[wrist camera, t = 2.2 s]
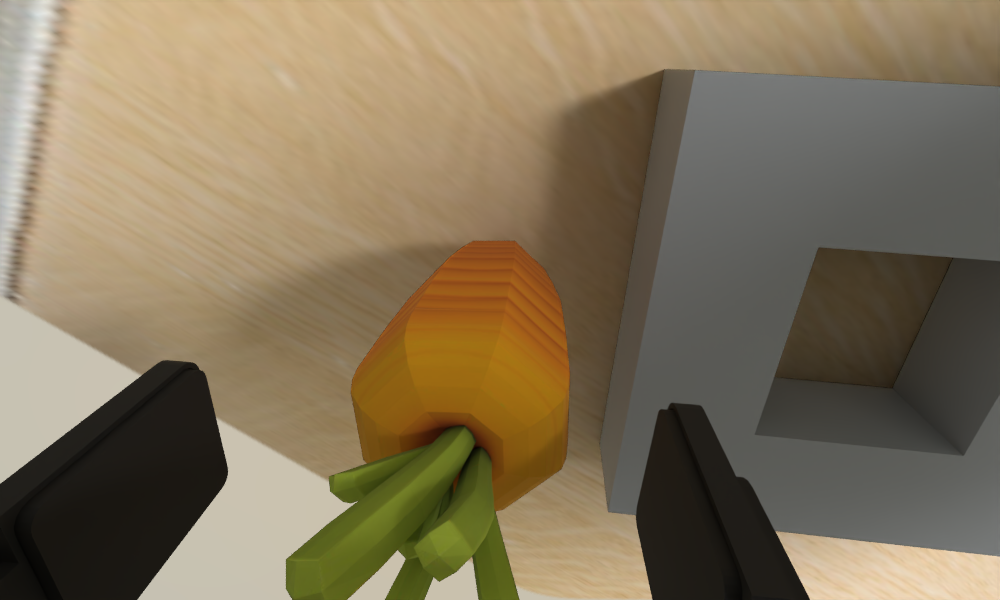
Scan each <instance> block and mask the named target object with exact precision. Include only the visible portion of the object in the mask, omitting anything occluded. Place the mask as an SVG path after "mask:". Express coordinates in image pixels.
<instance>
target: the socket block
mask: <svg viewBox="0 0 1000 600" xmlns="http://www.w3.org/2000/svg"><path fill="white" fill-rule="evenodd" d="M818 247H821V248H834V249H848V250H861V251H874V252H887V253H900V254H914V255H927V256H940V257H953V260H952V262H951V264H950V266H949V268H948V271H947V273H946V275H945V277H944V279H943V281H942V283H941V286H940V288H939V290H938V292H937V294H936V296H935V298H934V301H933V303H932V305H931V307H930V309H929V311H928V313H927V315H926V318H925V320H924V322H923V324H922V326H921V328H920V330H919V333H918V335H917V337H916V339H915V341H914V343H913V345H912V348H911V350H910V352H909V354H908V356H907V358H906V360H905V362H904V365H903V367H902V369H901V371H900V373H899V375H898V377H897V380H896V382H895V384H894V386H893V388H883V387H872V386H862V385H851V384H840V383H830V382H819V381H808V380H797V379H787V378H776V377H774V376H775V373H776V370H777V367H778V364H779V361H780V359H781V356H782V353H783V350H784V347H785V344H786V341H787V338H788V335H789V332H790V329H791V326H792V323H793V320H794V317H795V315H796V312H797V309H798V306H799V303H800V300H801V297H802V294H803V291H804V288H805V285H806V282H807V279H808V276H809V273H810V270H811V268H812V265H813V262H814V259H815V256H816V253H817V250H818ZM670 403H682V404H694V405H700V406H702V407H703V409H704V411H705V413H706V415H707V417H708V419H709V421H710V423H711V425H712V427H713V429H714V431H715V434H716V436H717V438H718V440H719V442H720V444H721V446H722V448H723V450H724V452H725V454H726V456H727V458H728V460H729V462H730V465H731V467H732V469H733V471H734V473H735V475H736V477H744V478H745V479H747V480H748V481H749V483H750V484H751V486H752V487H753V489H754V491H755V493H756V495H757V497H758V499H759V501H760V503H761V505H762V507H763V509H764V511H765V512H766V514H767V516H768V518H769V520H770V522H771V524H772V526H773V528H774V530H775V531H780V532H789V533H798V534H806V535H815V536H824V537H833V538H842V539H851V540H859V541H868V542H877V543H886V544H895V545H904V546H912V547H921V548H930V549H939V550H948V551H956V552H965V553H974V554H983V555H992V556H1000V86H982V85H963V84H945V83H926V82H907V81H889V80H870V79H851V78H833V77H814V76H796V75H777V74H758V73H740V72H721V71H703V70H671V69H664V75H663V80H662V86H661V92H660V98H659V103H658V109H657V115H656V121H655V127H654V132H653V138H652V144H651V150H650V155H649V161H648V167H647V173H646V179H645V184H644V190H643V196H642V202H641V207H640V213H639V219H638V225H637V231H636V236H635V242H634V248H633V254H632V260H631V265H630V271H629V277H628V283H627V288H626V294H625V300H624V306H623V312H622V317H621V323H620V329H619V335H618V340H617V346H616V352H615V358H614V364H613V369H612V375H611V381H610V387H609V392H608V398H607V404H606V410H605V416H604V421H603V427H602V433H601V439H600V450H601V458H602V467H603V475H604V483H605V491H606V499H607V508H608V512H612V513H621V514H630V515H636V509H637V503H638V499H639V495H640V490H641V486H642V481H643V477H644V473H645V468H646V464H647V459H648V455H649V450H650V446H651V442H652V437H653V433H654V428H655V424H656V419H657V415H658V412H659V410H660V409H666V410H667V409H668V406H669V405H670Z"/></svg>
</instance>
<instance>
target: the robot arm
mask: <svg viewBox="0 0 1000 600" xmlns="http://www.w3.org/2000/svg"><path fill="white" fill-rule="evenodd" d="M227 475H228V467H227V463H226V459H225V454H224V450H223V446H222V442H221V437H220V433H219V429H218V425H217V420H216V416H215V412H214V408H213V403H212V399H211V395H210V391H209V387H208V382H207V378H206V375H205V373H204V372H203V371H201V370H199V368H198V366H197V365H196V364H194V363H192V362H181V361H169V360H165V361H161V362H159V363H157V364H156V365H155V366H154V367H152V368H151V369H150V370H148V371H147V372H146V373H144V374H143V375H142V376H141V377H139V378H138V379H137V380H135V381H134V382H133V383H131V384H130V385H129V386H127V387H126V388H125V389H124V390H122V391H121V392H120V393H119V394H117V395H116V396H114V397H113V398H112V399H110V400H109V401H108V402H107V403H105V404H104V405H103V406H101V407H100V408H99V409H97V410H96V411H95V412H94V413H92V414H91V415H90V416H88V417H87V418H86V419H84V420H83V421H82V422H81V423H79V424H78V425H77V426H75V427H74V428H73V429H71V430H70V431H69V432H67V433H66V434H65V435H64V436H62V437H61V438H60V439H58V440H57V441H56V442H54V443H53V444H52V445H50V446H49V447H48V448H46V449H45V450H44V451H43V452H41V453H40V454H39V455H37V456H36V457H35V458H33V459H32V460H31V461H29V462H28V463H27V464H26V465H24V466H23V467H22V468H20V469H19V470H18V471H16V472H15V473H14V474H13V475H11V476H10V477H9V478H7V479H6V480H5V481H4V482H2V483H1V484H0V600H137V599H138V598H139V597H140V595H141V594H142V593H143V591H144V590H145V589H146V587H147V586H148V585H149V583H150V582H151V581H152V579H153V578H154V577H155V575H156V574H157V573H158V572H159V570H160V569H161V568H162V566H163V565H164V563H165V562H166V561H167V560H168V558H169V557H170V556H171V555H172V553H173V552H174V551H175V549H176V548H177V546H178V545H179V544H180V543H181V541H182V540H183V539H184V537H185V536H186V535H187V533H188V532H189V531H190V530H191V528H192V527H193V526H194V524H195V523H196V522H197V520H198V519H199V518H200V516H201V515H202V514H203V512H204V511H205V510H206V508H207V507H208V506H209V505H210V503H211V502H212V501H213V499H214V498H215V497H216V495H217V494H218V493H219V491H220V490H221V489H222V487H223V486H224V484H225V482H226V479H227ZM636 523H637V529H638V533H639V538H640V543H641V548H642V552H643V557H644V562H645V566H646V571H647V576H648V580H649V585H650V590H651V594H652V599H653V600H810V599H809V597H808V595H807V593H806V591H805V589H804V587H803V585H802V583H801V581H800V579H799V577H798V575H797V573H796V571H795V569H794V567H793V565H792V563H791V561H790V559H789V557H788V556H787V554H786V552H785V550H784V548H783V546H782V544H781V542H780V540H779V538H778V536H777V534H776V532H775V530H774V528H773V526H772V524H771V522H770V520H769V518H768V516H767V514H766V512H765V511H764V509H763V507H762V505H761V503H760V501H759V499H758V497H757V495H756V493H755V491H754V489H753V487H752V486H751V484H750V483H749V481H748V480H747V479H745V478H744V477H736V475H735V473H734V471H733V469H732V467H731V465H730V462H729V460H728V458H727V456H726V454H725V452H724V450H723V448H722V446H721V444H720V442H719V440H718V438H717V436H716V434H715V431H714V429H713V427H712V425H711V423H710V421H709V419H708V417H707V415H706V413H705V411H704V409H703V407H702V406H700V405H694V404H682V403H670V405H669V406H668V409H667V410H666V409H660V410H659V412H658V415H657V419H656V424H655V428H654V433H653V437H652V442H651V446H650V450H649V455H648V459H647V464H646V468H645V473H644V477H643V481H642V486H641V490H640V495H639V499H638V503H637V509H636Z"/></svg>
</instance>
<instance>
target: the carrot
mask: <svg viewBox="0 0 1000 600" xmlns="http://www.w3.org/2000/svg"><path fill="white" fill-rule="evenodd" d="M569 387H570V370H569V360H568V350H567V340H566V331H565V325H564V318H563V312H562V306H561V301H560V298H559V296H558V294H557V292H556V290H555V287H554V285H553V283H552V281H551V280H550V278H549V276H548V275H547V273H546V271H545V270H544V268H543V267H542V266H541V265H540V264H539V263H538V262H536V261H535V260H534V259H533V258H532V257H531V256H530V255H529V254H528V253H527V252H526V251H525V250H524V249H523V248H522V247H521V246H520V245H518V244H517V243H516V242H515V241H473V242H471V243H469V244H467V245H466V246H464V247H462V248H461V249H459V250H458V251H457V252H456V253H454V254H453V255H452V256H450V257H449V258H448V259H447V260H446V261H445V262H444V263H443V264H442V265H441V266H440V267H439V268H438V269H437V270H436V271H435V272H434V274H433V275H432V276H431V277H430V278H429V279H428V280H427V281H426V282H425V283H424V284H423V285H422V286H421V287H420V288H419V289H418V290H417V291H416V292H415V293H414V294H413V295H412V296H411V297H410V298H409V299H408V301H407V302H406V303H405V304H404V306H403V307H402V308H401V309H400V311H399V312H398V313H397V315H396V316H395V317H394V318H393V320H392V321H391V322H390V323H389V325H388V326H387V327H386V328H385V330H384V331H383V333H382V334H381V336H380V337H379V338H378V340H377V341H376V343H375V344H374V345H373V347H372V348H371V350H370V351H369V353H368V354H367V355H366V357H365V358H364V360H363V361H362V362H361V364H360V365H359V367H358V368H357V370H356V372H355V375H354V377H353V379H352V386H351V396H352V401H353V407H354V412H355V417H356V423H357V428H358V433H359V439H360V444H361V449H362V455H363V460H364V461H365V462H366V463H367V464H364V465H361V466H359V467H356V468H353V469H350V470H347V471H344V472H341V473H338V474H335V475H332V476H329V484H330V492H332V493H333V494H334V495H335V496H336V497H338V498H339V499H340V500H342V501H343V502H347V503H353V502H356V501H358V502H357V503H355V504H354V505H353V506H351V507H350V508H349V509H347V510H346V511H345V512H343V513H342V514H341V515H339V516H338V517H337V518H335V519H334V520H333V521H331V522H330V523H329V524H327V525H326V526H325V527H324V528H323V529H321V530H320V531H319V532H318V533H317V534H316V535H314V536H313V537H312V538H311V539H310V540H308V541H307V542H306V543H305V544H304V545H303V546H301V547H300V548H299V549H298V550H297V551H295V552H294V553H293V554H292V555H291V556H290V557H288V558H287V559H286V590H287V591H288V593H289V595H290V596H291V598H292V600H347V599H348V598H349V597H350V596H351V595H353V594H354V593H355V592H356V591H357V590H358V589H359V588H360V587H361V586H362V585H363V584H364V583H365V582H366V581H367V580H368V579H370V578H371V577H372V575H374V574H375V573H376V572H377V571H378V570H379V569H380V568H381V567H382V566H383V565H384V564H385V563H386V562H387V561H388V559H389V558H390V557H391V556H392V555H393V554H394V553H395V552H396V551H397V550H398V551H399V552H400V553H401V554H402V555H403V556H404V557H405V558H406V560H405V562H404V564H403V566H402V568H401V570H400V572H399V574H398V576H397V578H396V579H395V581H394V583H393V585H392V587H391V589H390V591H389V593H388V595H387V597H386V599H385V600H424V599H425V597H426V594H427V592H428V589H429V587H430V585H431V582H432V580H433V577H434V578H435V579H437V580H438V581H439V582H440V581H441V580H443V579H445V578H447V577H448V576H450V575H452V574H454V573H455V572H457V571H458V570H459V569H460V568H461V566H463V565H464V564H465V562H467V561H468V560H469V559H470V558H471V557H473V564H474V571H475V578H476V585H477V592H478V599H479V600H519V597H518V593H517V589H516V586H515V582H514V578H513V575H512V571H511V567H510V564H509V560H508V557H507V553H506V549H505V546H504V542H503V538H502V535H501V531H500V527H499V524H498V520H497V516H496V511H499V510H503V509H505V508H506V507H508V506H509V505H511V504H512V503H513V502H515V501H516V500H518V499H519V498H521V497H522V496H524V495H525V494H526V493H528V492H529V491H531V490H532V489H534V488H535V487H537V486H538V485H539V484H541V483H542V482H544V481H545V480H547V479H548V478H550V477H551V476H552V475H554V474H555V473H557V472H558V471H560V470H561V469H562V467H563V464H564V462H565V459H566V455H567V443H568V415H569Z"/></svg>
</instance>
